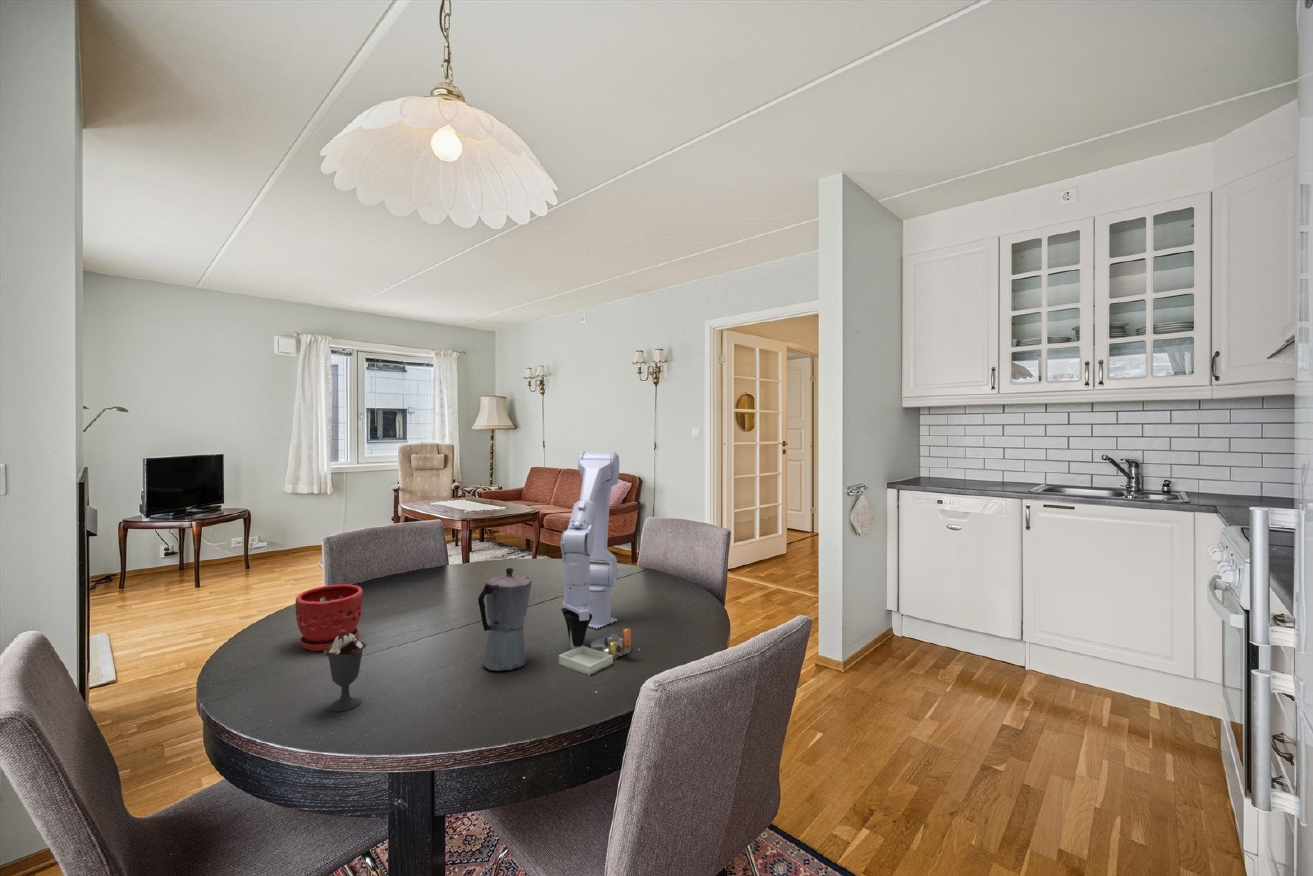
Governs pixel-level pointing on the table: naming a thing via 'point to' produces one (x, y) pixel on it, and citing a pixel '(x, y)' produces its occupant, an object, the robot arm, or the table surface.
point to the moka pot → (505, 620)
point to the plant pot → (327, 614)
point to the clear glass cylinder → (572, 643)
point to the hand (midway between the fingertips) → (576, 642)
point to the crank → (622, 645)
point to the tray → (585, 660)
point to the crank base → (606, 647)
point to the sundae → (344, 667)
